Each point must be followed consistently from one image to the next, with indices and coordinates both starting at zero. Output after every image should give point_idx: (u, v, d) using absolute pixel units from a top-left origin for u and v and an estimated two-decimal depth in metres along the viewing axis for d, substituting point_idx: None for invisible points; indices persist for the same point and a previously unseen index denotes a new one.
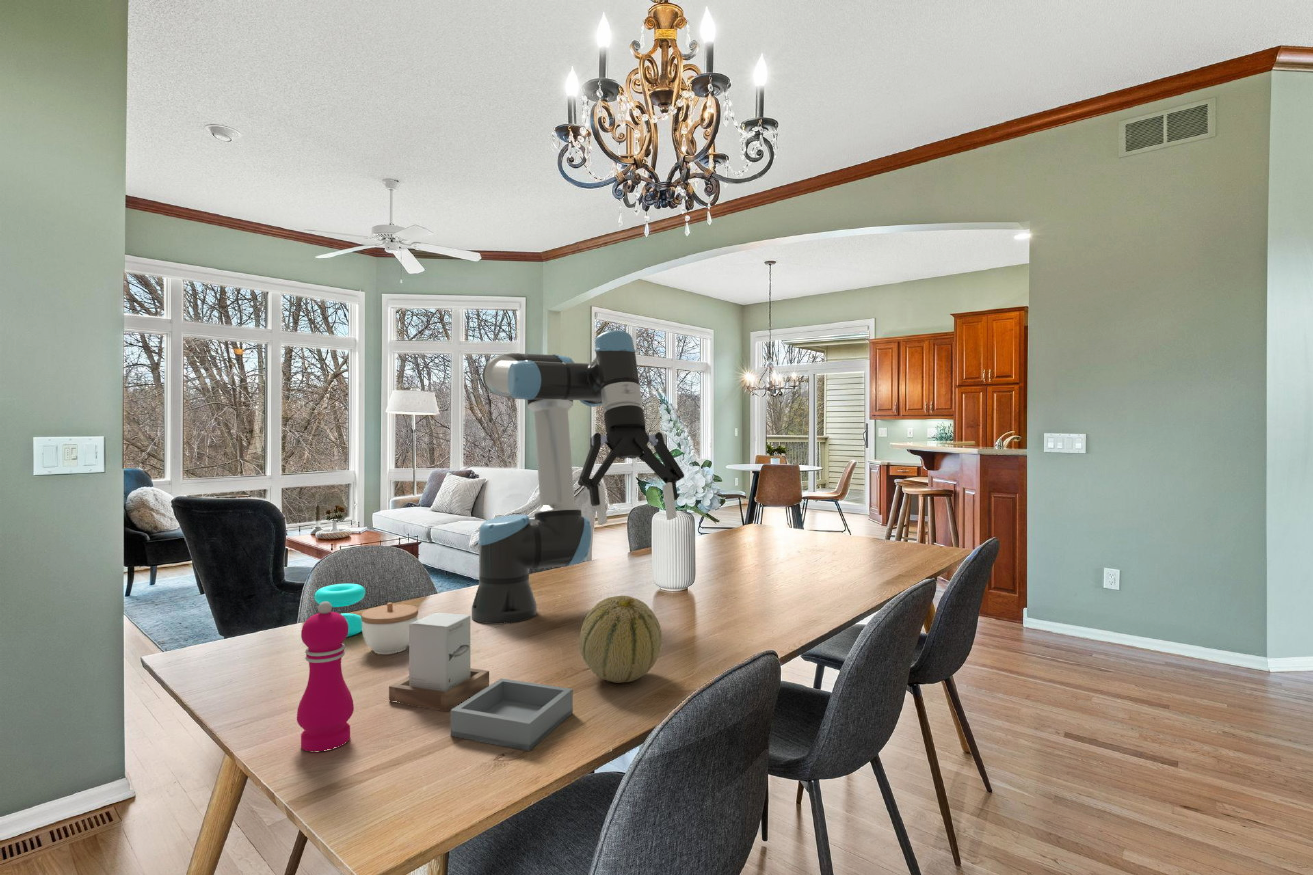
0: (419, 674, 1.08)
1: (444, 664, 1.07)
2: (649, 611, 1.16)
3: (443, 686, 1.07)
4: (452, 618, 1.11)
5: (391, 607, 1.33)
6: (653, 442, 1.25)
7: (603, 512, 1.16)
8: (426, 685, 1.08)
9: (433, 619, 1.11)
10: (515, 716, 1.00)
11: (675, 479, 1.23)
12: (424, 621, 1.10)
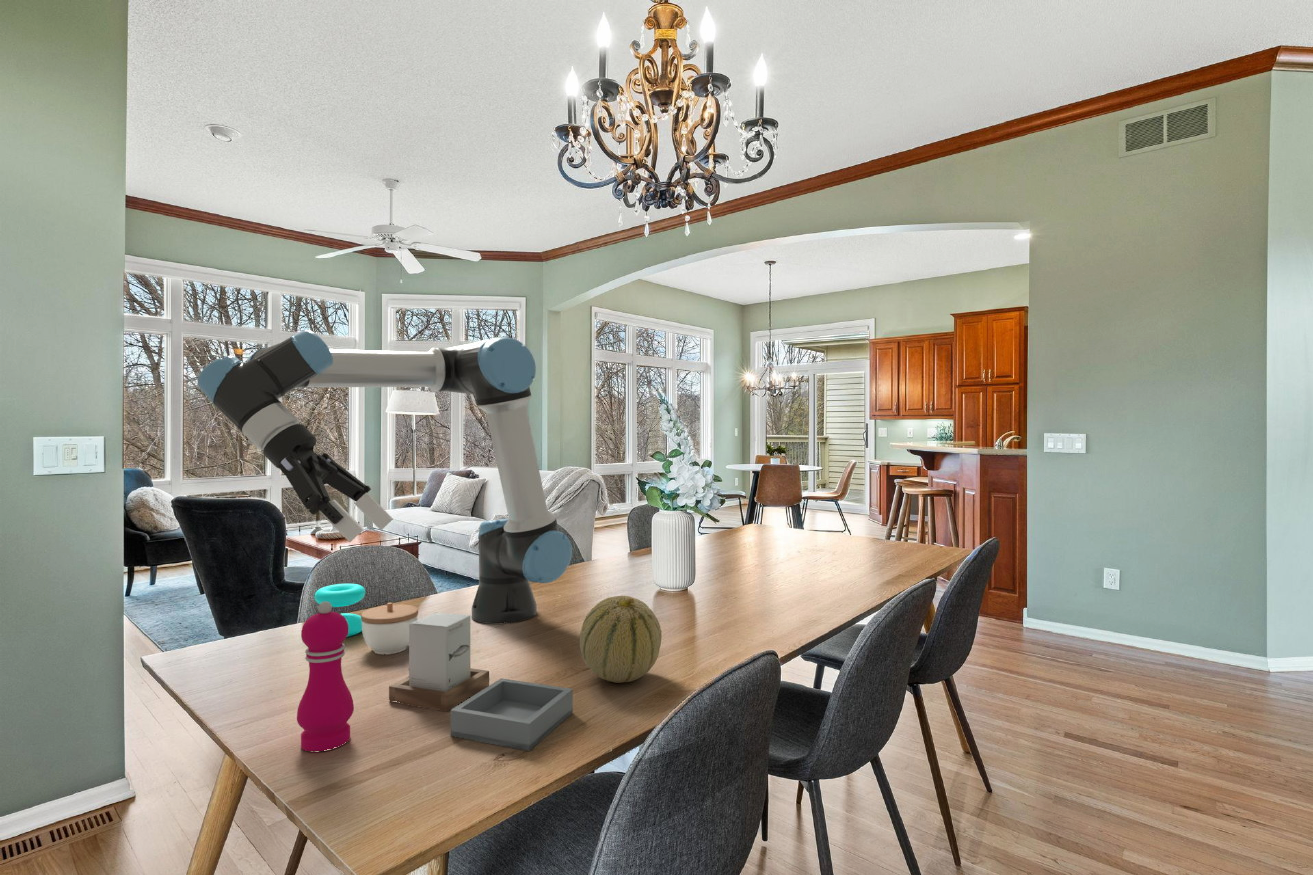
0: (419, 674, 1.08)
1: (444, 664, 1.07)
2: (649, 611, 1.16)
3: (443, 686, 1.07)
4: (452, 618, 1.11)
5: (391, 607, 1.33)
6: None
7: None
8: (426, 685, 1.08)
9: (433, 619, 1.11)
10: (515, 716, 1.00)
11: None
12: (424, 621, 1.10)
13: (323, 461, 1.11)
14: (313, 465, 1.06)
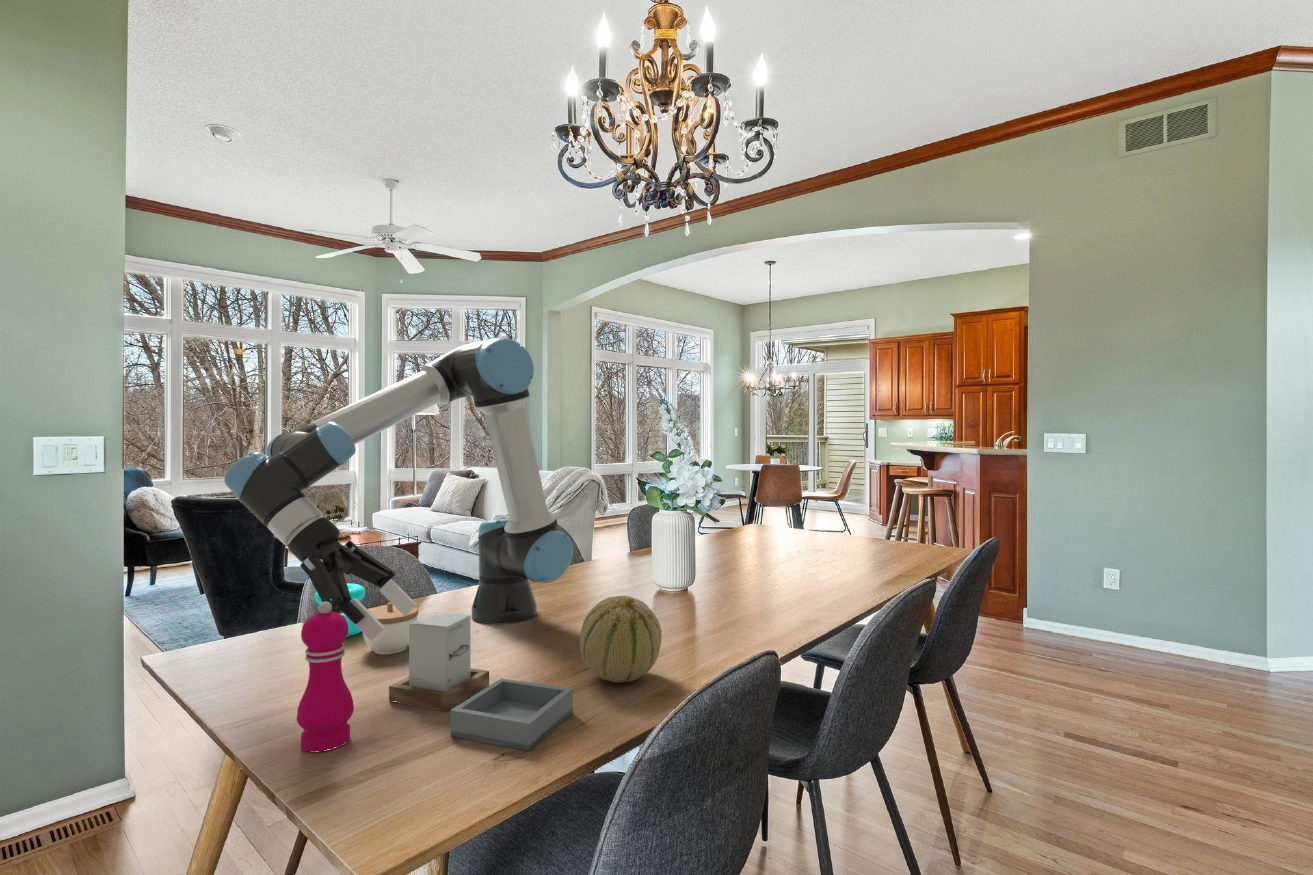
0: (419, 674, 1.08)
1: (444, 664, 1.07)
2: (649, 611, 1.16)
3: (443, 686, 1.07)
4: (452, 618, 1.11)
5: (391, 607, 1.33)
6: None
7: None
8: (426, 685, 1.08)
9: (433, 619, 1.11)
10: (515, 716, 1.00)
11: None
12: (424, 621, 1.10)
13: (346, 553, 1.12)
14: (336, 561, 1.07)
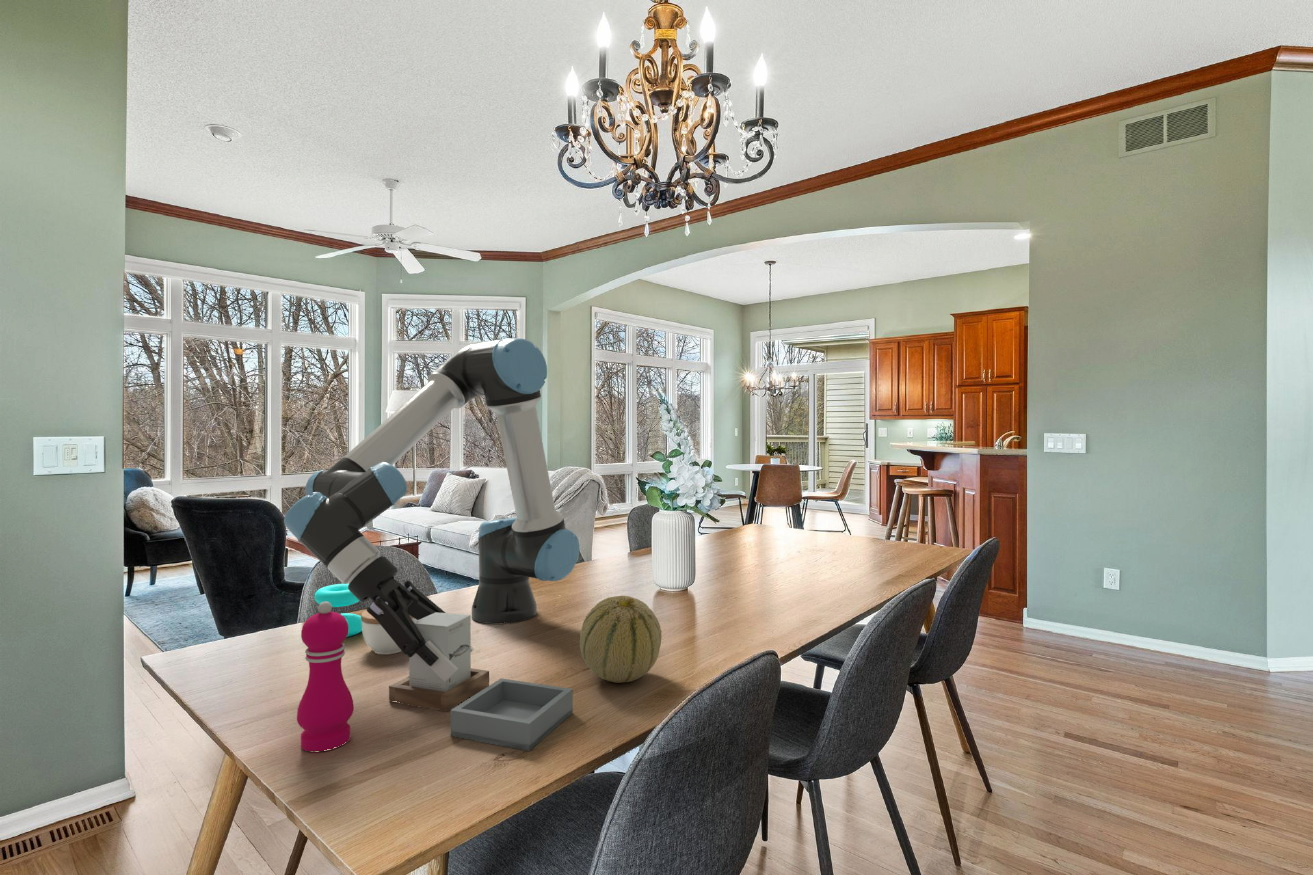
0: (419, 674, 1.08)
1: None
2: (649, 611, 1.16)
3: (444, 686, 1.07)
4: (452, 618, 1.11)
5: None
6: None
7: None
8: (426, 685, 1.08)
9: (433, 619, 1.11)
10: (515, 716, 1.00)
11: None
12: (424, 621, 1.10)
13: (404, 591, 1.12)
14: (399, 602, 1.08)
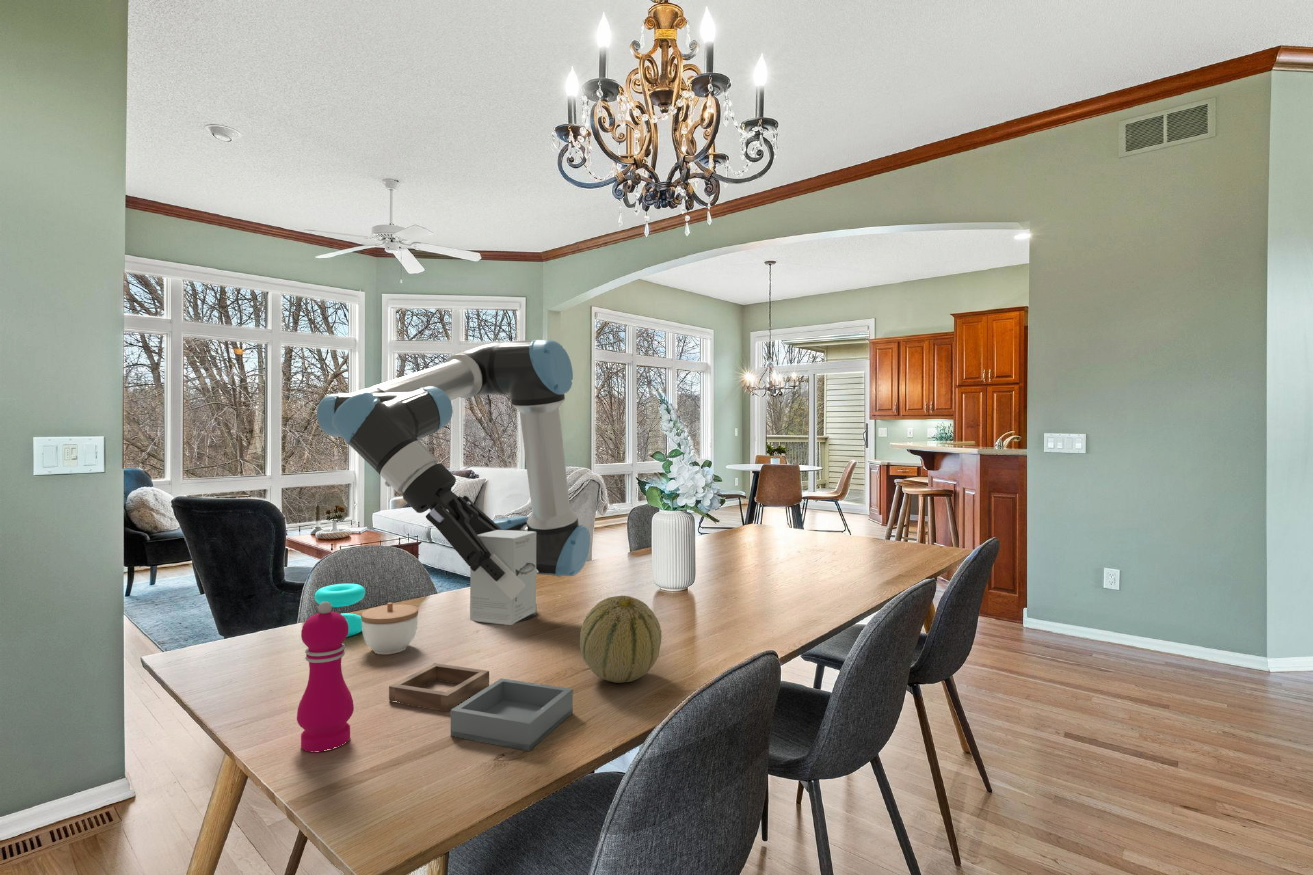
0: (481, 593, 0.96)
1: None
2: (649, 611, 1.16)
3: (509, 606, 0.95)
4: (517, 533, 1.00)
5: (391, 607, 1.33)
6: None
7: None
8: (490, 605, 0.96)
9: (496, 533, 0.99)
10: (515, 716, 1.00)
11: None
12: (487, 534, 0.98)
13: (463, 503, 1.00)
14: (460, 512, 0.97)
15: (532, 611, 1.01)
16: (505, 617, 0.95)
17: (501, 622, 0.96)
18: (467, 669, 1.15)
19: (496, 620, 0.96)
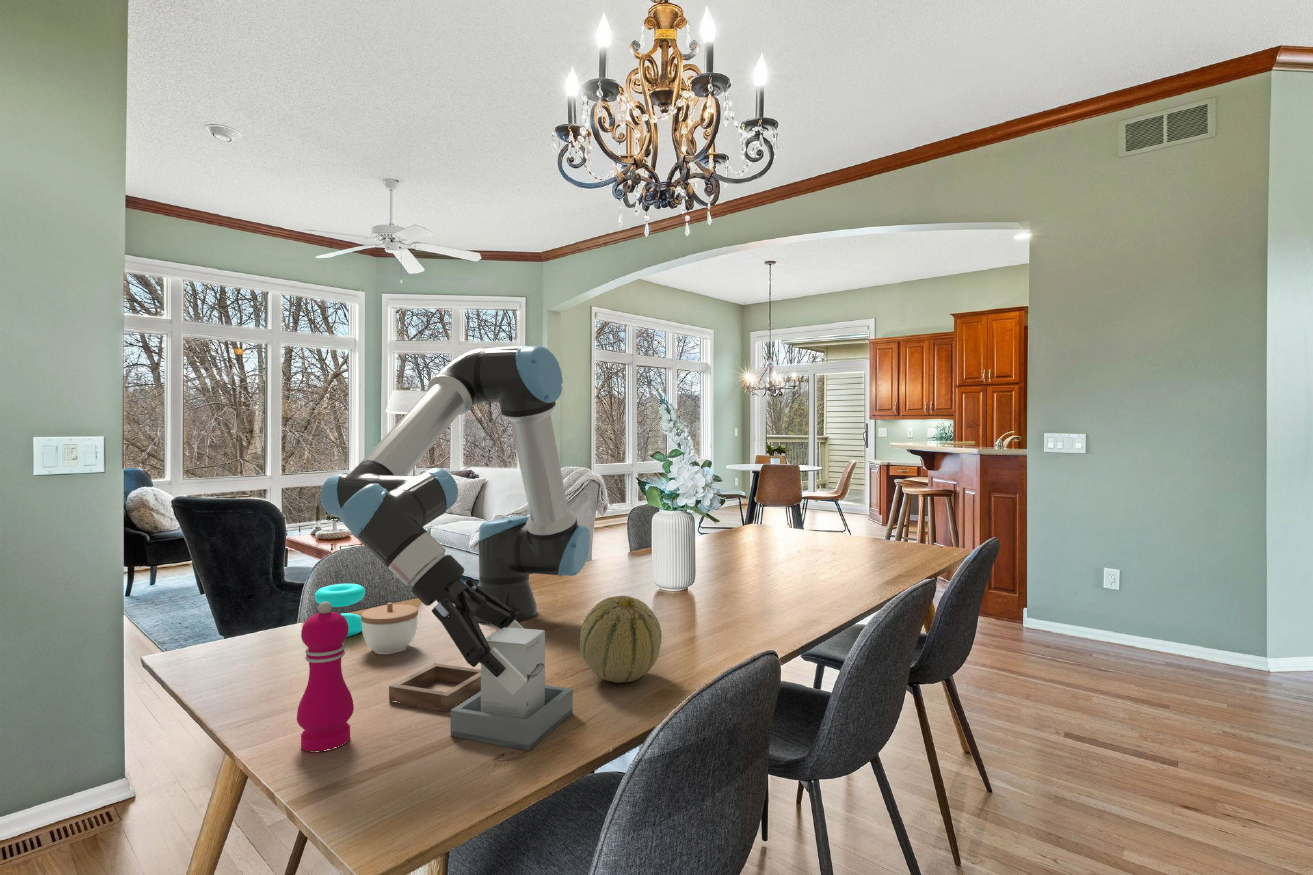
0: (492, 698, 0.97)
1: (522, 686, 0.96)
2: (649, 611, 1.16)
3: (521, 711, 0.96)
4: (527, 634, 1.00)
5: (391, 607, 1.33)
6: None
7: None
8: (501, 710, 0.96)
9: (506, 635, 0.99)
10: None
11: None
12: (497, 638, 0.98)
13: (472, 594, 1.01)
14: (466, 605, 0.96)
15: None
16: None
17: None
18: (467, 669, 1.15)
19: None
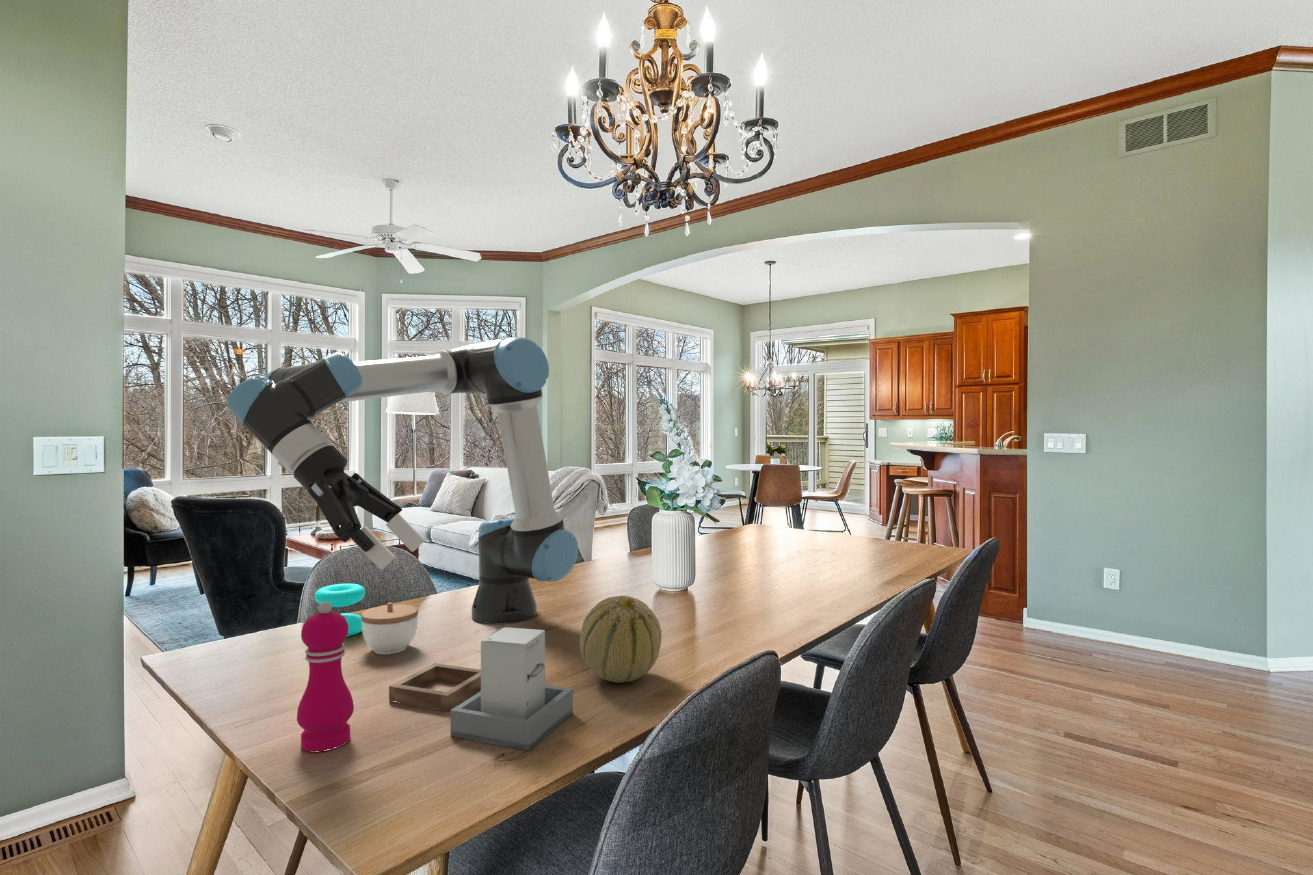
0: (492, 698, 0.97)
1: (522, 686, 0.96)
2: (649, 611, 1.16)
3: (521, 711, 0.96)
4: (527, 634, 1.00)
5: (391, 607, 1.33)
6: None
7: None
8: (501, 710, 0.96)
9: (506, 635, 0.99)
10: None
11: None
12: (497, 638, 0.98)
13: (354, 483, 1.08)
14: (344, 489, 1.03)
15: None
16: None
17: None
18: (467, 669, 1.15)
19: None
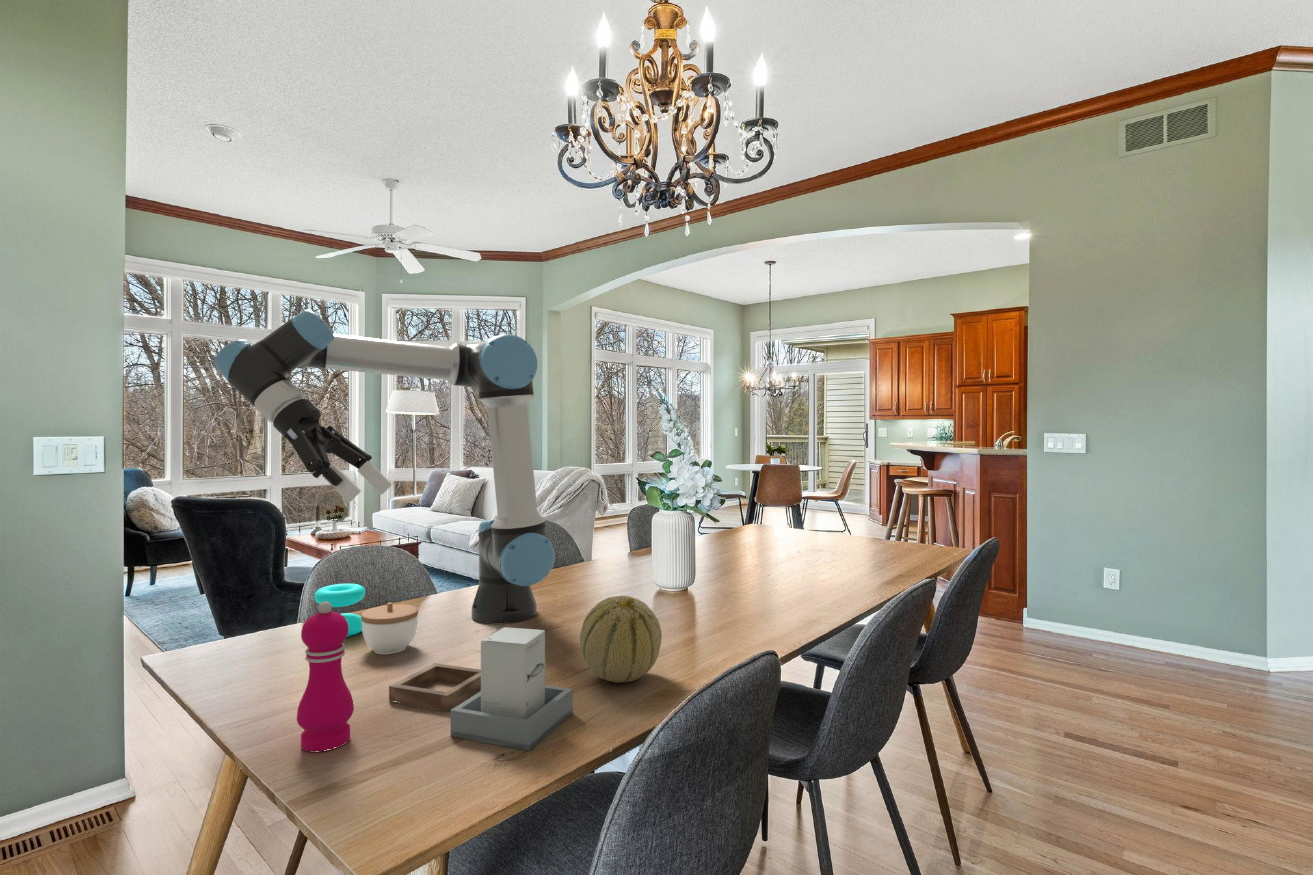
0: (492, 698, 0.97)
1: (522, 686, 0.96)
2: (649, 611, 1.16)
3: (521, 711, 0.96)
4: (527, 634, 1.00)
5: (391, 607, 1.33)
6: None
7: None
8: (501, 710, 0.96)
9: (506, 635, 0.99)
10: None
11: None
12: (497, 638, 0.98)
13: (327, 432, 1.23)
14: (316, 435, 1.19)
15: None
16: None
17: None
18: (467, 669, 1.15)
19: None
